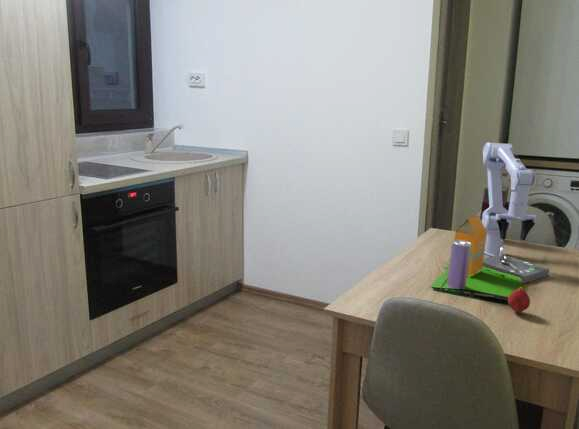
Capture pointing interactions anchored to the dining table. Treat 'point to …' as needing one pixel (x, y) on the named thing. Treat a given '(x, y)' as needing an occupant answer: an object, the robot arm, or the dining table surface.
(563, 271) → the dining table surface
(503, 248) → the dial pointer
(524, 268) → the dial plate
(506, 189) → the toy vending machine
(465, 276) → the beverage can
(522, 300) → the red round lump
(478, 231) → the orange juice
